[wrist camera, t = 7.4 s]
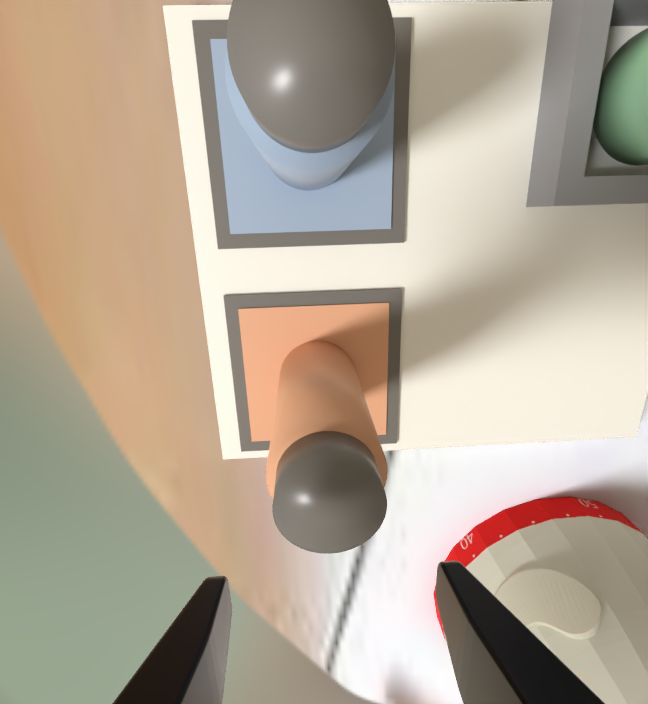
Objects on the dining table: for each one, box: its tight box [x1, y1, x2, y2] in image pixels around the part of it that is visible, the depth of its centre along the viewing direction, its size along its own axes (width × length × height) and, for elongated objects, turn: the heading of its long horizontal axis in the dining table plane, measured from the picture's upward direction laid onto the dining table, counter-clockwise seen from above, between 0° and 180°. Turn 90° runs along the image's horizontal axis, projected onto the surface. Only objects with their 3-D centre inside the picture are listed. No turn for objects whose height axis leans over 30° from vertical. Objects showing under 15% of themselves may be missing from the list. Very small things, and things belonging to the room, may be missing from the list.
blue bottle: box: [225, 0, 395, 191], centre depth 11 cm, size 4×4×9 cm
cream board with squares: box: [163, 0, 648, 459], centre depth 17 cm, size 22×19×3 cm
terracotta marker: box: [266, 341, 387, 553], centre depth 15 cm, size 4×4×9 cm
